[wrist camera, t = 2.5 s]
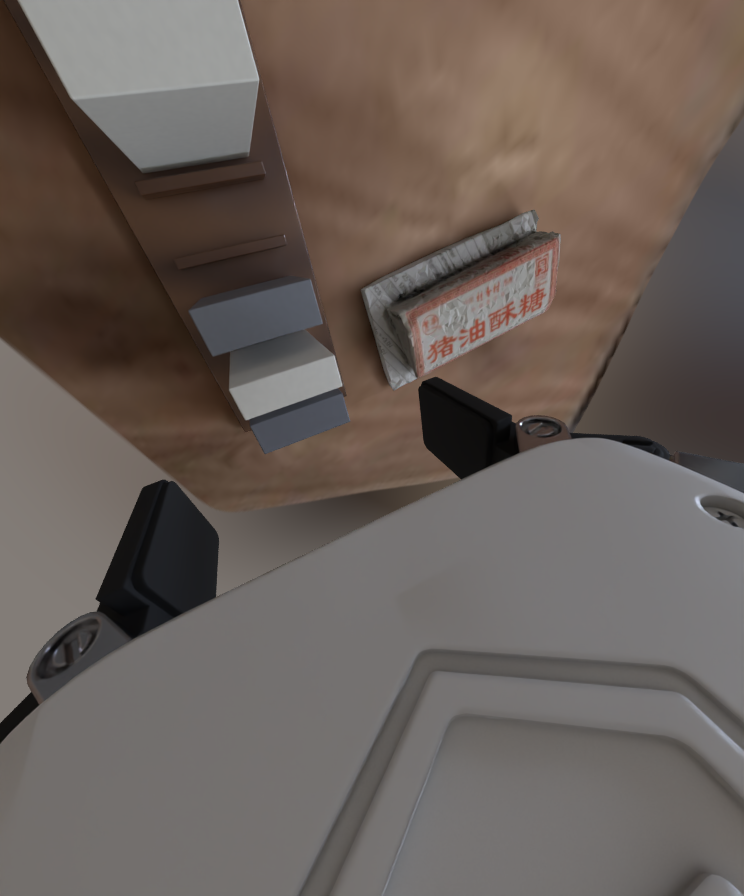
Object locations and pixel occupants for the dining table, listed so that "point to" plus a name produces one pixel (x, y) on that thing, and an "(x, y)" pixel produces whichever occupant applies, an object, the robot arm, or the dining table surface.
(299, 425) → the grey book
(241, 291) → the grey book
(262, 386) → the white book
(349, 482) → the dining table surface
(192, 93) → the white book
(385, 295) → the packaged product
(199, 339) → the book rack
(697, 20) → the dining table surface
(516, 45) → the dining table surface
